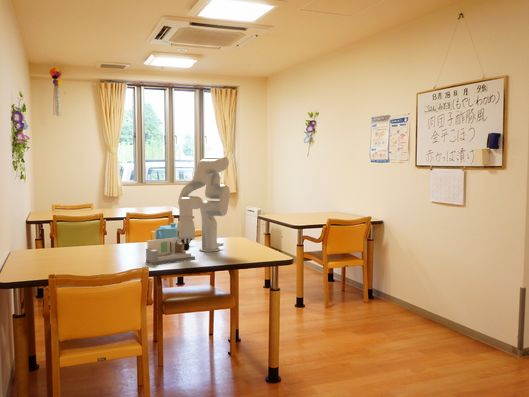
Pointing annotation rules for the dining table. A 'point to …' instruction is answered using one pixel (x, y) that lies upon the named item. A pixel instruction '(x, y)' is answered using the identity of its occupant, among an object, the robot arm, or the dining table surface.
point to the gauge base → (164, 251)
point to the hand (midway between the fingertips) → (186, 250)
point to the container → (166, 231)
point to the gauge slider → (176, 249)
